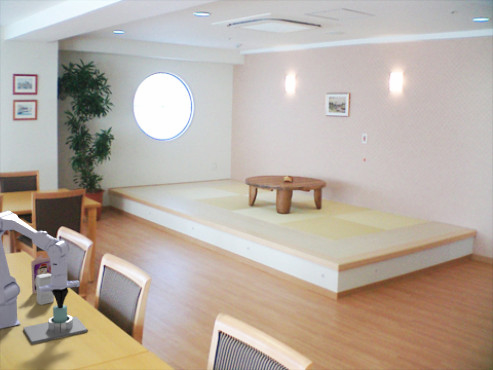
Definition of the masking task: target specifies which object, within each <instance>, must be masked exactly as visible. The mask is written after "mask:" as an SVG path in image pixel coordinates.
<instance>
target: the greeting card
mask: <svg viewBox="0 0 493 370" xmlns="http://www.w3.org/2000/svg"><path fill="white" fill-rule="evenodd" d="M30 264H31V265H30V267H31V287H32V291H31V292H32V295H34V294H37V289H36V275H41V274H47V273H50V274H51V262H50V257H49V256H48V257H46V258H43V254H41V255H39V256H37V258H34V260H32V261H31V262H30Z"/></svg>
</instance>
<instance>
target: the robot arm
mask: <svg viewBox="0 0 493 370" xmlns="http://www.w3.org/2000/svg"><path fill="white" fill-rule="evenodd" d="M11 230H12V231H16V232H18V233H19V234H21V235H23V236H25V237H27V238H29V239H30V240H31V242H32V244H33V245H34V246H36V247H38V248H39V249H41V250H43V251H44V252H46V254H47V256H48V258H49V257H50V262H51V284H48V285H45V286H41V287H39V292H40V293H43V292H48V291H52V293H53V295H54V300H55V301H56V304H57V306H58V308H63V305H65V304H64V302H65V300H66V298H67V295H68V294H69V289H70V288H75V287H76V288H78V287H80V284H81V283H80V281H79V280H68V259H67V257H68V255H67V254H68V253H69V251H70V245H69V243H68V242H67V241H65V239H58V238H56V237H54V236H52V235H50V234H48V231H46V230H44V231H43V230H36V229H35V228H34V227H32V226H30V225H29V224H28V223H26V222H24V220H22V219H20V218H19V217H18V215H17V214H16V213H13V212H12V211H10V210H4V211H1V212H0V329H5V328H9V327H15V326H19V325H21V322H20V320H19V318H18V306H17V305H18V303H17V302H18V301H17V300H18V296H19V295H20V293H21V288H20V287H21V286H20V285H19V283H18V282H17V280H16V278H15V277H14V276H12V275H11V273H10V267H9V265H8V259H7V257H6V253H5V248H4V244H3V241H2V236H3V235H4V234H5V232H6V231H11Z"/></svg>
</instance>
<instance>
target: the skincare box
mask: <svg viewBox="0 0 493 370" xmlns="http://www.w3.org/2000/svg"><path fill="white" fill-rule="evenodd" d="M48 284H51V274H50V273H47V274H41V275H36V289H37V293H36V302H37V304H38V305H40V306H41V305H46V304H50V303H54V301H55V297H54V295H53V293H52V291H48V292H43V293H40V292H39V287H41V286H45V285H48Z"/></svg>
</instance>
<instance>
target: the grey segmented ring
mask: <svg viewBox="0 0 493 370" xmlns="http://www.w3.org/2000/svg"><path fill="white" fill-rule="evenodd" d="M72 317H73V316H72V315H69V314H67V321H66V322H62V323H54V321H53V316H52V317H49V318H48V320H47V321H48V329H49V330H50V331H53V332H63V331H67V330H69V329H71V328H72V327H73V318H72Z"/></svg>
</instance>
